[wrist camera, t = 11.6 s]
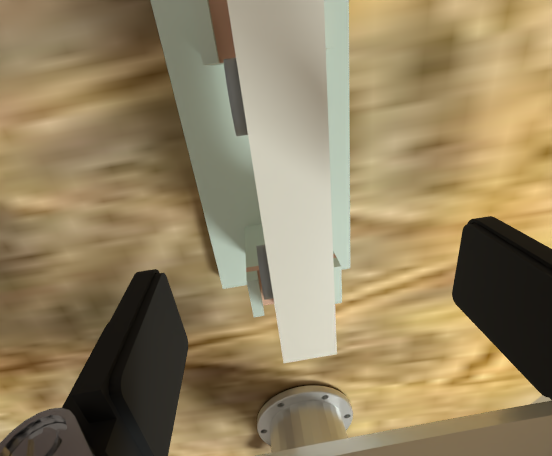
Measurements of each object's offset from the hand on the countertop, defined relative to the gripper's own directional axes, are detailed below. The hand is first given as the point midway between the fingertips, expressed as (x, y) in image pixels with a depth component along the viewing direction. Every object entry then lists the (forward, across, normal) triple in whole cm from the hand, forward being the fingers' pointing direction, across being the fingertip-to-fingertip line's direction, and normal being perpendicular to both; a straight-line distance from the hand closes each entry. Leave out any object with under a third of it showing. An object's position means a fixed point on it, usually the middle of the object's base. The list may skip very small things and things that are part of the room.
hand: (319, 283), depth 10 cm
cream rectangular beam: (+9, 0, -1) cm, 9 cm away
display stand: (+17, 0, -1) cm, 17 cm away
